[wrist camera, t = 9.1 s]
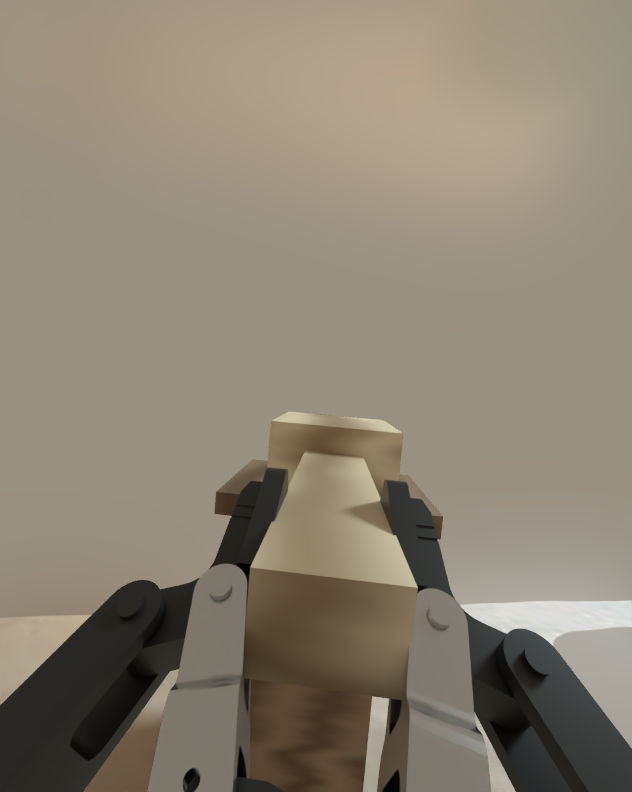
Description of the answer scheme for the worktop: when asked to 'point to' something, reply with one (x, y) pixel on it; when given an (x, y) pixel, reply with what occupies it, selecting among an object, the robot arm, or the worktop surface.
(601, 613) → the worktop surface
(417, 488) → the wooden t-shaped post
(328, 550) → the beige stepped hammer block
